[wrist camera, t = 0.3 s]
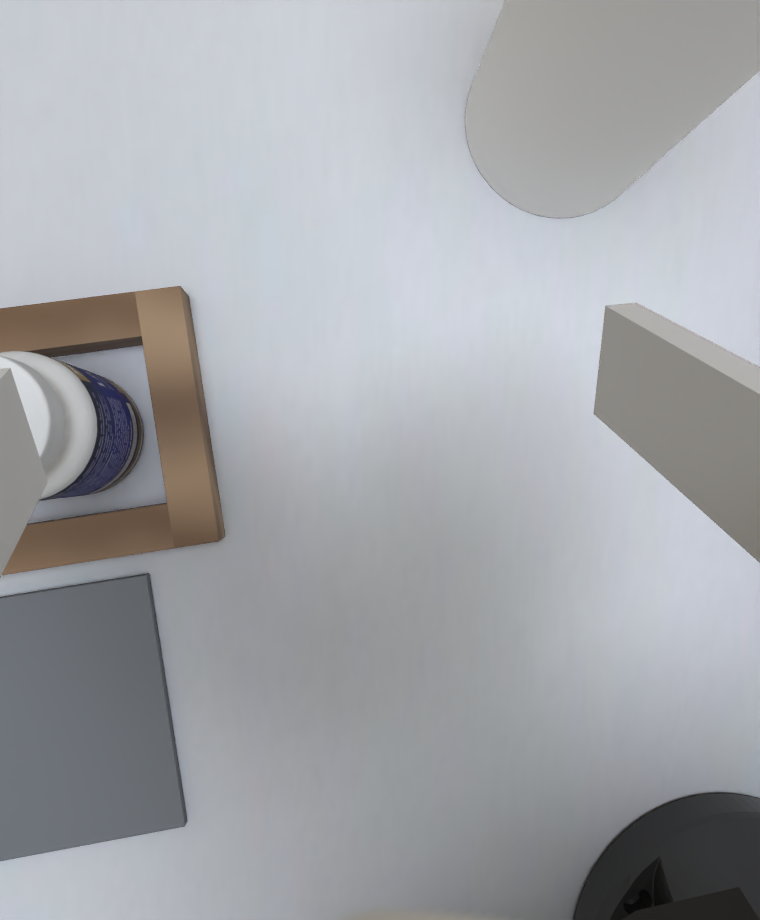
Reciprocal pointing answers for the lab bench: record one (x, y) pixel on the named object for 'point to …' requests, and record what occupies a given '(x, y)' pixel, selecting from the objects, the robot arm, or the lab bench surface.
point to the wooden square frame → (175, 413)
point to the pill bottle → (76, 424)
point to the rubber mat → (84, 719)
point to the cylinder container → (600, 92)
